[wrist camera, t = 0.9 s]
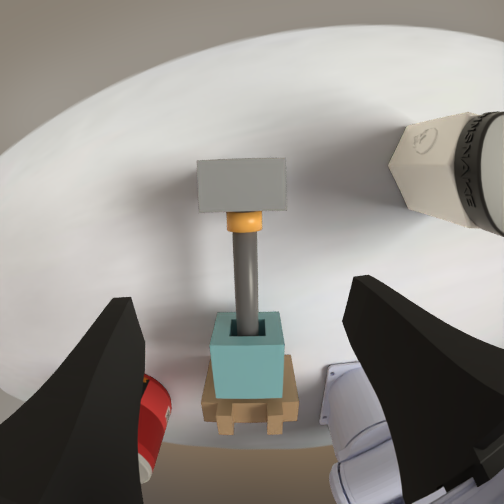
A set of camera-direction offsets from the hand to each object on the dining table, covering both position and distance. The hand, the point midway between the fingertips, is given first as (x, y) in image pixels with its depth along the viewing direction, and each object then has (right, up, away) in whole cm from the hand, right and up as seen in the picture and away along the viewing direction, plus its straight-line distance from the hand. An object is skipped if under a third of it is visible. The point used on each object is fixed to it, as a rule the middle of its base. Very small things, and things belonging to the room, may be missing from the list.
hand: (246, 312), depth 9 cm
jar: (+17, +10, +14) cm, 24 cm away
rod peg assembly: (0, -1, +17) cm, 17 cm away
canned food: (-13, -15, +21) cm, 29 cm away
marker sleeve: (0, -5, +15) cm, 16 cm away
